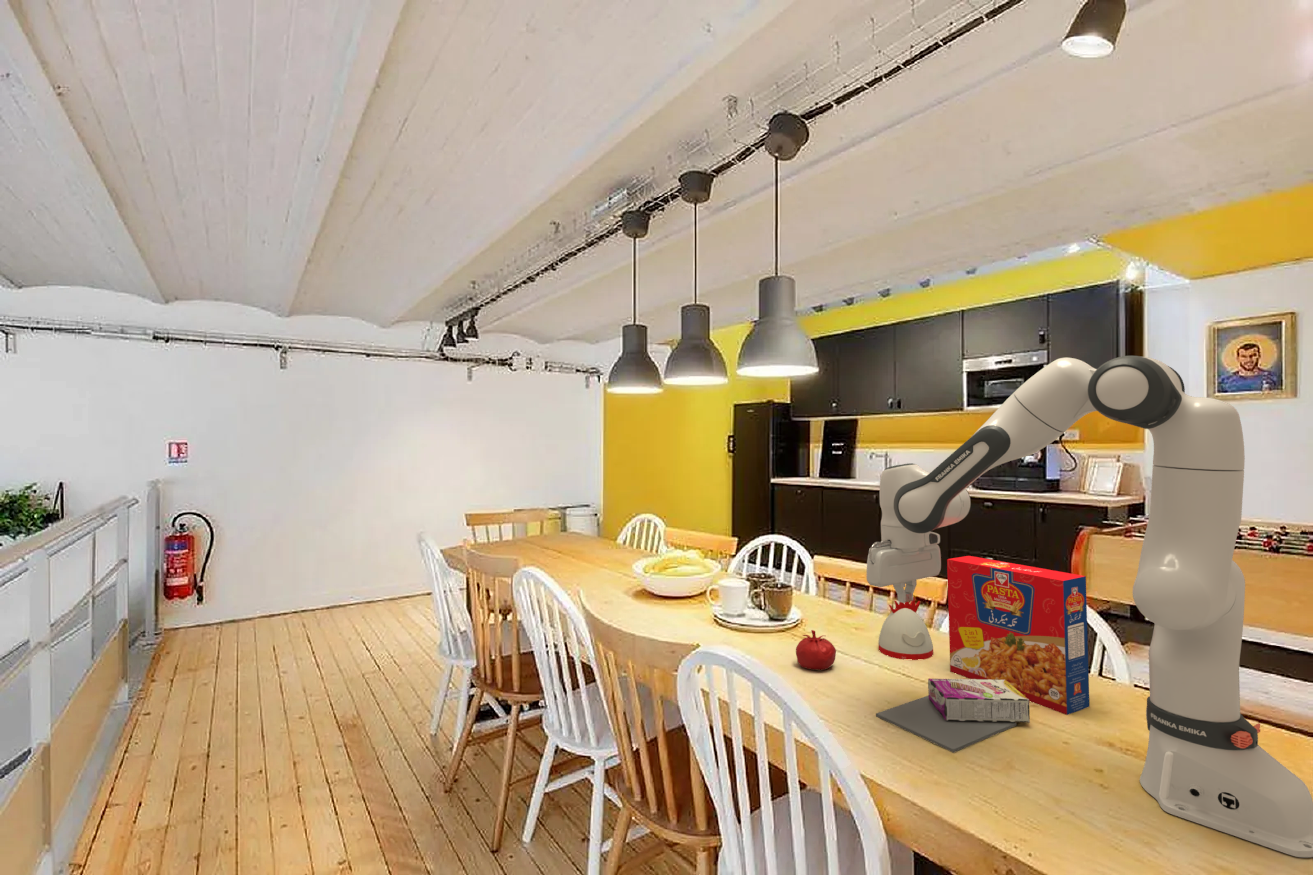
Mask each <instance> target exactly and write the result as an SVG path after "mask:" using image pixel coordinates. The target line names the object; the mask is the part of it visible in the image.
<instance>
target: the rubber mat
mask: <svg viewBox="0 0 1313 875" xmlns="http://www.w3.org/2000/svg"><path fill="white" fill-rule="evenodd" d="M875 717H877V718H879V719H881V720H884V721H885V722H887V723H888V724H889V723H890V724H892V725H893V726H895V727H898V728H900V729H902V730H904V731H906V732H909V733H911V734H912V735H915V736H917V737H919V738H922V739H924V740H926V741H928V742H930V743H932V744H935V745H936V746H938V747H941V748H943V749H945V750H947V751H949V752H951V753H952V754H953V753H956V752H958V751H960V750H963V749H966V748H967V747H970V746H972V745H975V744H977V743H980V742H981V741H984V740H987V739H988V738H991V737H993V736H995V735H998V734H1000V733H1003V732H1006V731H1007V730H1009V729H1012V728H1015V727H1017V722H982V721H946V720H945V719H944V718H943V716H942V715H941V714H940V713H939V711H938V710H937V709H936V708H935V706H934V705H933V704H932V702H931V701H930V700H929V694H928V695H925V696H923V697H919V698H917V699H913V700H911V701H907V702H905V703H903V704H899V705H897V706H893V707H889V708H887V709H885V710H882V711H879V712H876V713H875Z"/></svg>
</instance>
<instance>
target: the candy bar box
mask: <svg viewBox="0 0 1313 875" xmlns="http://www.w3.org/2000/svg"><path fill="white" fill-rule="evenodd" d="M927 689H928V695H929V700H930V701H931V702H932V704H933V705H934V706H935V708H936V709H937V710H938V711H939V713H940V714H941V715H942V716H943V718H944V719H945V720H946V721H982V722H1016V723H1029V724H1030V722H1031V719H1030V718H1031V716H1030V715H1031V714H1030V713H1031V712H1030V701H1029V699H1027V698H1026V697H1025V696H1024V695H1023V694H1021V693H1020V692H1019V691H1018V690H1017V689H1016V688H1014V687H1013V686H1012V685H1011V684H1010V683H1009V682H1007V681H1006V680H998V679H969V678H966V679H965V678H928V679H927Z"/></svg>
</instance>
